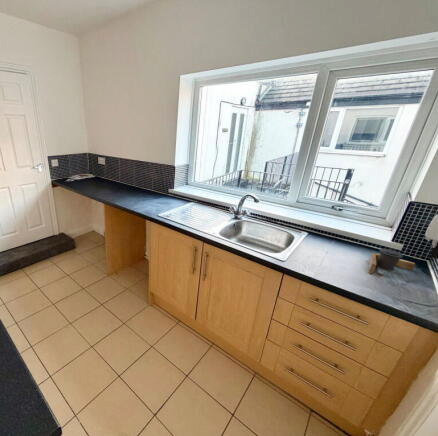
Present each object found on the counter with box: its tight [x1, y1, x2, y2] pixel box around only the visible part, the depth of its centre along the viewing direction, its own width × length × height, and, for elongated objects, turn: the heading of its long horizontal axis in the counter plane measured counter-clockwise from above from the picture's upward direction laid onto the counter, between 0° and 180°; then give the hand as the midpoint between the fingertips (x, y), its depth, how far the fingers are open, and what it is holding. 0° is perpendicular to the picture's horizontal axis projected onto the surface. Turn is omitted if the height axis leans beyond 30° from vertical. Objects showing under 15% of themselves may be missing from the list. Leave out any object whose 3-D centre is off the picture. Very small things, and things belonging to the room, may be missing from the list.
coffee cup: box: [376, 248, 404, 271], centre depth 116 cm, size 8×8×10 cm
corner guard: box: [367, 252, 416, 275], centre depth 115 cm, size 16×14×5 cm
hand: (435, 257), depth 99 cm, fingers closed
